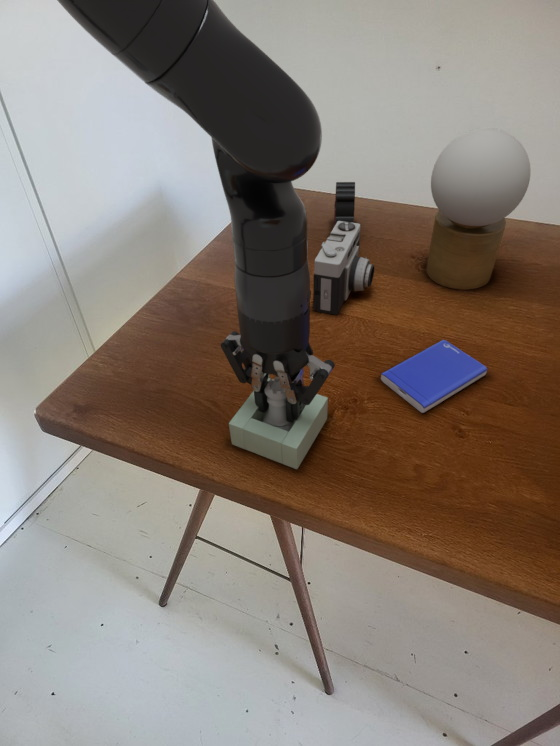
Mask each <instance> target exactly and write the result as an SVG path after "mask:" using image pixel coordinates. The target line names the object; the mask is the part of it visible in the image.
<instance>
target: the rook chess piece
mask: <svg viewBox="0 0 560 746" xmlns="http://www.w3.org/2000/svg"><path fill="white" fill-rule="evenodd" d="M272 379H273V378H270V380H269V381H268V382H269V384H268V383H267V385H266V387H265V389H264V390H265V394H266V395H267V396H268V397H267V402H268V403H269V408H268V411H267V413H266V414H265V417H264V419H263V422H264V423H266V424H269V425H272V426H275V427H277V428H280V429H283V430H286V431H288V432H289V431H290V429H291V428H292V426H293V425H294V423H295V422H296V420H294V422H293V423H290V422H288V421H286V400H287V397H286V394H285V390H284V389H282V388H281V385H280V382H279V378H278V377H277V376H274V379H273V380H272Z"/></svg>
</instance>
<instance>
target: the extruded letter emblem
mask: <svg viewBox="0 0 560 746" xmlns="http://www.w3.org/2000/svg"><path fill="white" fill-rule="evenodd" d="M334 197H335V198H334V213H333V228H334V227H335V225H336V223H337V222H338V221H343V222H351V223H355V204H356V182H355V181H336V182H335V196H334Z"/></svg>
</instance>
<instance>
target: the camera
mask: <svg viewBox="0 0 560 746" xmlns="http://www.w3.org/2000/svg"><path fill="white" fill-rule="evenodd" d="M329 233H330V235H329V236H328V237H327V239H326V240H325V241H323V242H322V244H321V245H320V250H319V252H318V254H317V256H316V257H315V259H314V272H313V287H312V288H313V294H312V296H313V298H312V300H313V301H312V309H313V310H314V312H318V313H323V314H329V315H339V313H340V311H341V309H342V306H343V304H344V302H345V301H347V300H348V298H349V296H350V293H351V291H354V293H357V292H363V291H365V289H366V288H371V286H372V284H373V280H374V275H375V265H374V264H372V263H371V261H370V259H368V258H367V256H365V257H362V256H359V253H360V242H361V241H360V239H361V223H358V222H354V223H351V222H343V221H338V222H337V223H336V225H335V227H334V226H333V228H332V230H331V232H329Z"/></svg>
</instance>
